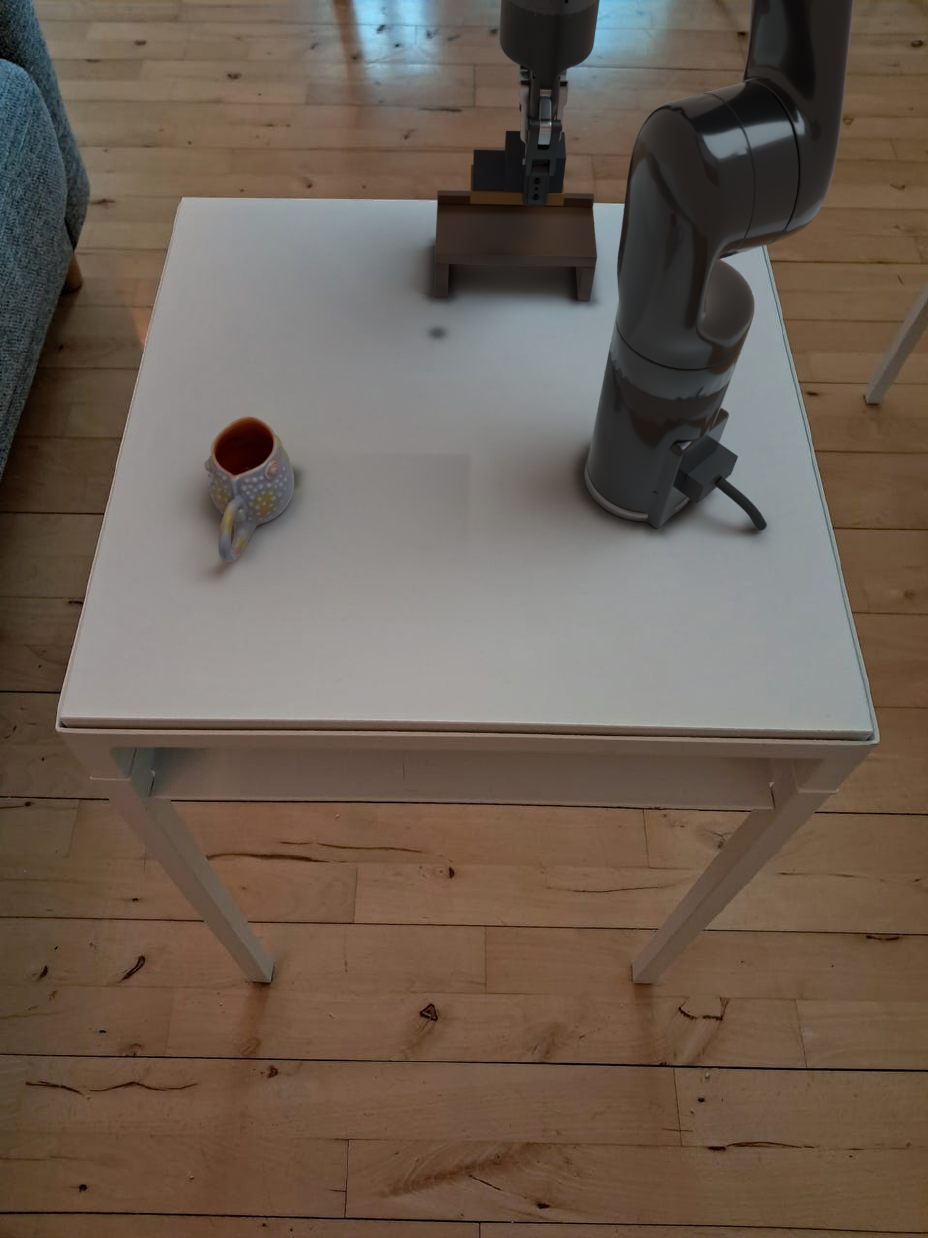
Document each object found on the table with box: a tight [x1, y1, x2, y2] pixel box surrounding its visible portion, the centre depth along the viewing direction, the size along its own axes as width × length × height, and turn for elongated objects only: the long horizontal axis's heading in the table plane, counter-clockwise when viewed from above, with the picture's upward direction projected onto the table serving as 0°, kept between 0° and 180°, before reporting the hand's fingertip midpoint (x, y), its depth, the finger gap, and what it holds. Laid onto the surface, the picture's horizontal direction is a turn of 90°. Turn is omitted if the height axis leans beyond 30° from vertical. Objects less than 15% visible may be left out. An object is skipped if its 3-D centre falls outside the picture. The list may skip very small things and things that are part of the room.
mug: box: [203, 416, 295, 563], centre depth 75 cm, size 12×7×7 cm, turn 170°
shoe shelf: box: [434, 189, 598, 302], centre depth 92 cm, size 15×8×6 cm, turn 89°
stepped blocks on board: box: [469, 130, 567, 206], centre depth 84 cm, size 8×4×5 cm, turn 89°
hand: (533, 186), depth 86 cm, fingers closed on stepped blocks on board, 4 cm apart
